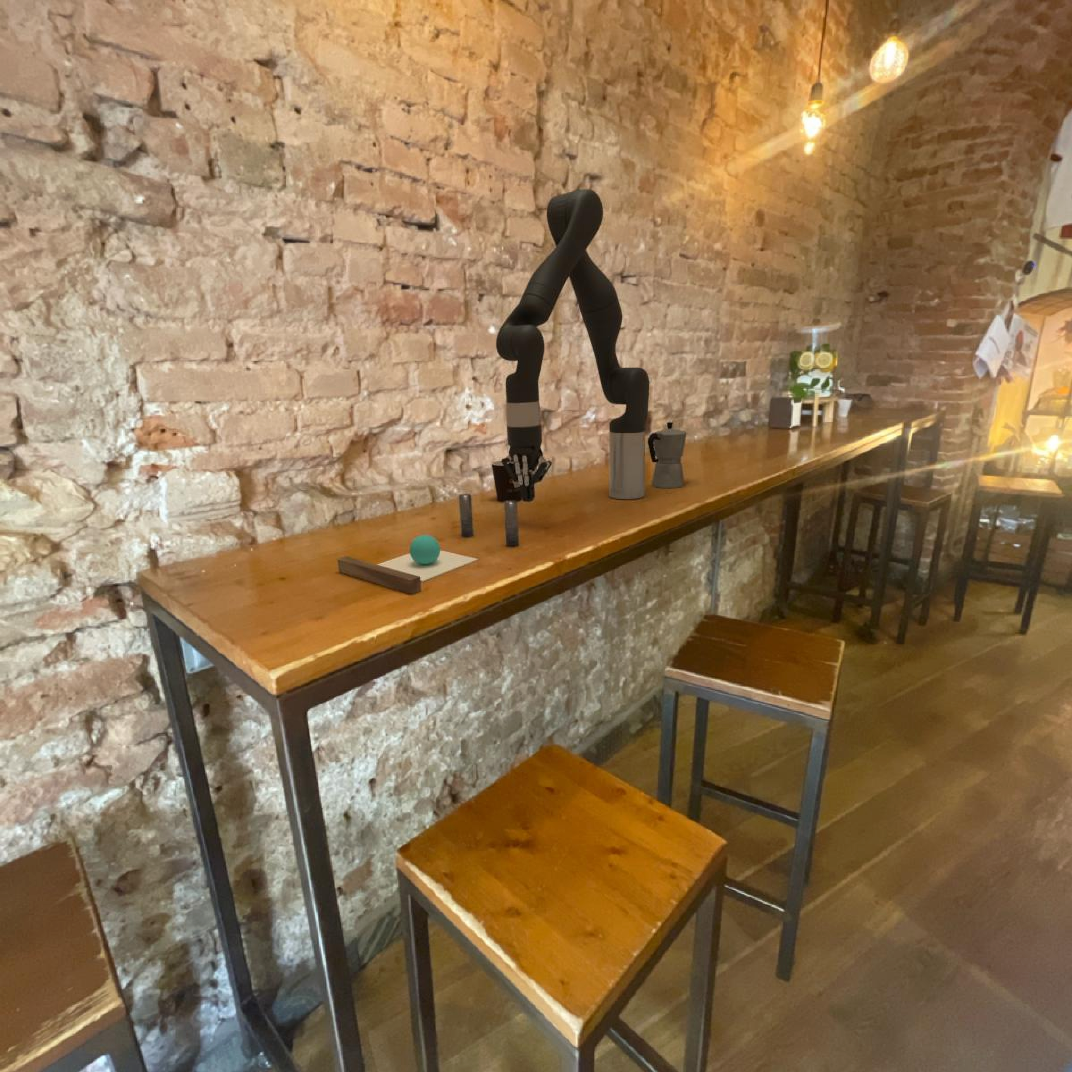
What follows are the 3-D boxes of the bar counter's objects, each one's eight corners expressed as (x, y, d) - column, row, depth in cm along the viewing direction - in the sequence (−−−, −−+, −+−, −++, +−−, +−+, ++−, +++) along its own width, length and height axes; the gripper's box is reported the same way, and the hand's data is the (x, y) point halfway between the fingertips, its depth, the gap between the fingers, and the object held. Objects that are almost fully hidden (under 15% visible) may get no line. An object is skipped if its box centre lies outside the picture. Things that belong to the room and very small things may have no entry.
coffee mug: (497, 504, 160) (495, 466, 157) (490, 497, 168) (488, 461, 165) (539, 500, 163) (538, 463, 160) (531, 494, 171) (530, 458, 168)
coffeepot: (669, 479, 184) (671, 419, 179) (695, 484, 177) (698, 420, 172) (634, 487, 175) (635, 423, 170) (660, 492, 168) (662, 426, 163)
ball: (416, 567, 117) (430, 543, 119) (436, 572, 114) (450, 547, 116) (398, 552, 113) (413, 527, 115) (418, 557, 110) (434, 531, 112)
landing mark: (427, 548, 125) (427, 547, 125) (478, 560, 117) (477, 559, 117) (371, 567, 115) (371, 566, 114) (422, 581, 106) (422, 580, 106)
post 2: (511, 542, 127) (509, 499, 125) (521, 544, 126) (519, 501, 123) (503, 545, 125) (501, 502, 123) (513, 547, 124) (511, 504, 121)
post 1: (467, 533, 135) (464, 493, 132) (475, 535, 133) (473, 494, 131) (458, 536, 133) (456, 495, 130) (467, 538, 131) (464, 496, 129)
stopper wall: (348, 569, 114) (346, 556, 113) (421, 590, 102) (420, 576, 101) (339, 572, 113) (337, 559, 112) (412, 594, 101) (410, 580, 100)
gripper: (559, 422, 131) (561, 500, 137) (511, 419, 139) (516, 494, 145) (537, 426, 126) (541, 508, 131) (489, 424, 134) (494, 501, 139)
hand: (528, 500), depth 138 cm, fingers closed
